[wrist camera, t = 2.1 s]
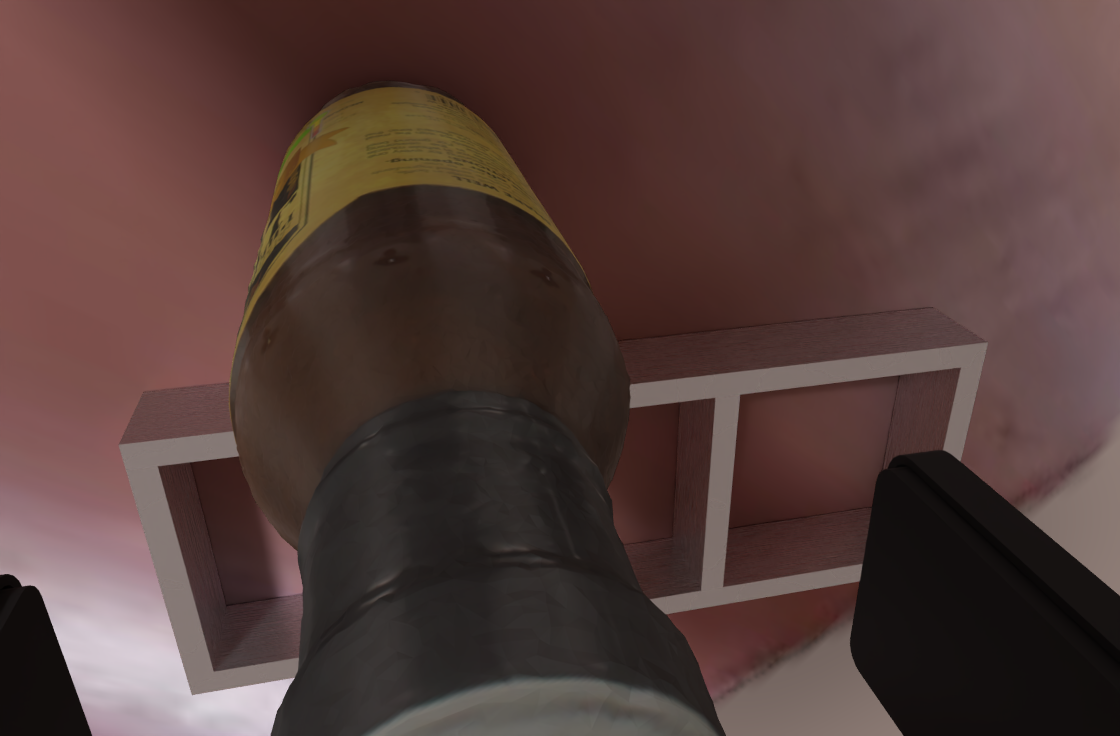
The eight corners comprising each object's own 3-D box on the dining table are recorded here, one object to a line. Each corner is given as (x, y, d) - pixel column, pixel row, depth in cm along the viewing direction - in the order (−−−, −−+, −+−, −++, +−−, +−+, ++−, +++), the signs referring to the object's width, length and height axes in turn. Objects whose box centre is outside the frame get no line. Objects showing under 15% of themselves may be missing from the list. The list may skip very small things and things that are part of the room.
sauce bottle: (258, 88, 22) (-88, 616, 5) (494, 62, 23) (918, 419, 6) (311, 313, 25) (214, 1141, 8) (518, 281, 26) (846, 955, 9)
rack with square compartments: (143, 392, 25) (118, 444, 23) (932, 307, 30) (988, 342, 27) (206, 627, 29) (191, 694, 27) (890, 520, 34) (935, 568, 31)
